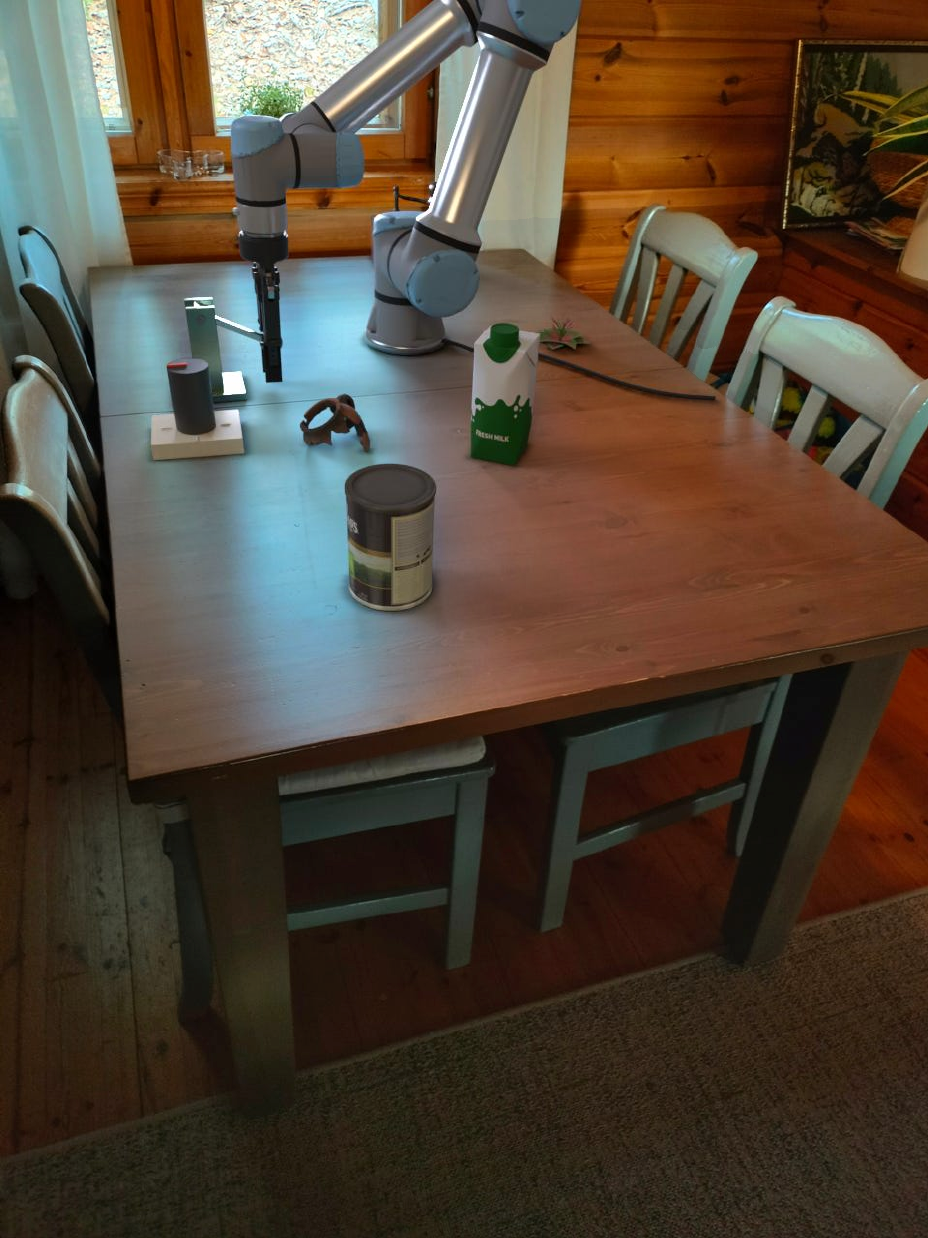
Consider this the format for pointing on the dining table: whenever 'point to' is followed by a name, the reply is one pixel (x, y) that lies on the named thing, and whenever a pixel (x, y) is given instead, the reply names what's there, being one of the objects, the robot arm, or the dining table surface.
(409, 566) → the coffee can
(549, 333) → the lily flower
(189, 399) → the tap knob
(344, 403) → the broken clay pot
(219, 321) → the tap lever
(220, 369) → the grey metal lever stand
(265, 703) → the dining table surface
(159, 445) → the panel
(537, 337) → the milk carton
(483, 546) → the dining table surface
